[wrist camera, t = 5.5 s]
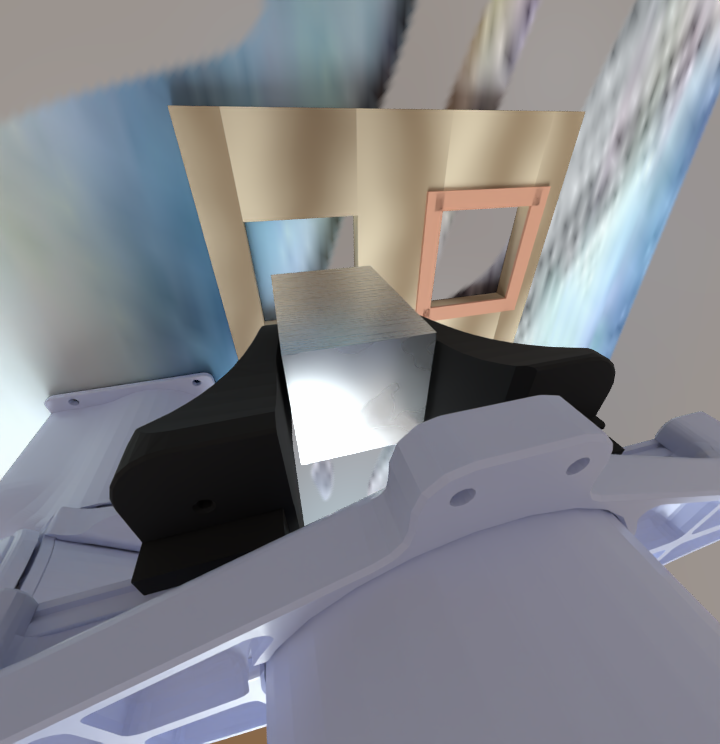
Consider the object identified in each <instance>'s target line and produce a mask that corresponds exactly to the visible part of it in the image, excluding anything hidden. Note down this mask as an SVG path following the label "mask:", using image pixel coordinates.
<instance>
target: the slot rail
mask: <svg viewBox="0 0 720 744" xmlns="http://www.w3.org/2000/svg"><path fill="white" fill-rule="evenodd" d="M168 109H169V112H170V116H171V119H172V123H173V127H174V130H175V134H176V137H177V141H178V145H179V148H180V152H181V155H182V159H183V162H184V166H185V170H186V173H187V177H188V180H189V184H190V188H191V191H192V195H193V198H194V202H195V205H196V209H197V213H198V216H199V220H200V223H201V227H202V231H203V234H204V238H205V241H206V245H207V248H208V252H209V256H210V259H211V263H212V266H213V270H214V274H215V277H216V281H217V284H218V288H219V291H220V295H221V299H222V302H223V306H224V309H225V313H226V317H227V320H228V324H229V327H230V331H231V334H232V338H233V342H234V345H235V349H236V352H237V356H238V360H239V359H240V358H241V357H242V356H243V355H244V353H245V352H246V350H247V349H248V347H249V346H250V344H251V343H252V341H253V340H254V338H255V337H256V335H257V333H258V331H259V329H260V328H261V327H262V326H265V325H273V324H277V320H271V321H264V316H263V311H262V306H261V301H260V296H259V291H258V286H257V281H256V277H255V272H254V267H253V262H252V257H251V252H250V247H249V242H248V237H247V233H246V228H245V223H244V222H256V221H273V220H290V219H307V218H324V217H340V216H353V227H354V267H361V266H371V267H372V268H373V269H374V270H375V271H376V272H377V273H378V274H379V275H380V276H381V277H382V278H383V279H384V280H385V281H386V282H387V283H388V284H389V285H390V286H391V287H392V288H393V289H394V290H395V291H396V292H397V293H398V294H399V295H400V296H401V297H402V298H403V299H404V300H405V301H406V302H407V303H408V304H409V305H410V306H411V307H412V308H413V309H414V310H415V311H416V312H417V313H418V314H419V315H421V316H423V317H426V318H428V319H430V320H433V321H435V322H438V323H441V324H443V325H446V326H448V327H451V328H454V329H457V330H460V331H463V332H466V333H470V334H474V335H477V336H481V337H485V338H490V339H494V340H499V341H505V342H511V343H513V341H514V338H515V334H516V331H517V328H518V325H519V322H520V319H521V315H522V312H523V309H524V306H525V303H526V299H527V296H528V293H529V290H530V287H531V283H532V280H533V277H534V274H535V271H536V267H537V264H538V261H539V258H540V255H541V252H542V248H543V245H544V242H545V239H546V236H547V232H548V229H549V226H550V223H551V220H552V216H553V213H554V210H555V207H556V204H557V200H558V197H559V194H560V191H561V188H562V185H563V181H564V178H565V175H566V172H567V169H568V165H569V162H570V159H571V156H572V153H573V149H574V146H575V143H576V140H577V137H578V134H579V130H580V127H581V124H582V121H583V118H584V114H585V112H571V111H569V112H568V111H566V112H565V111H504V110H503V111H502V110H433V109H431V110H430V109H366V108H297V107H228V106H168ZM504 207H518V208H517V212H516V216H515V220H514V224H513V228H512V232H511V236H510V240H509V244H508V248H507V252H506V256H505V260H504V264H503V268H502V272H501V276H500V280H499V284H498V288H497V292H496V293H489V294H481V295H473V296H465V297H457V298H449V299H441V300H433V301H431V299H432V291H433V283H434V275H435V268H436V260H437V252H438V244H439V236H440V229H441V221H442V213H443V211H453V210H469V209H487V208H504Z"/></svg>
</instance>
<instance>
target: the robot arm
mask: <svg viewBox="0 0 720 744" xmlns="http://www.w3.org/2000/svg"><path fill="white" fill-rule="evenodd" d="M420 316H421V315H420ZM421 317H422V318H423V319H424V320H425V321H426V322H427V323H428V324H429V325H430V326H431V327H432V328H433V329H434V330H435V331H436V332H437V335H436V341H435V348H434V355H433V362H432V368H431V375H430V382H429V389H428V395H427V402H426V409H425V416H424V422H423V423H420V424H418V425H416V426H415V427H414V428H413V429H412V430H411V431H409V432H408V433H407V434H406V435H405V436H404V437H403V438H402V439H400V440H399V442H398V443H397V445H396V447H395V450H394V452H393V455H392V457H391V459H390V462H389V475H388V482H387V486H386V487H385V488H384V489H382V490H380V491H378V492H376V493H373V494H371V495H369V496H367V497H365V498H363V499H361V500H359V501H357V502H355V503H353V504H351V505H348V506H346V507H344V508H342V509H340V510H338V511H336V512H334V513H331V514H330V515H327V516H325V517H323V518H321V519H319V520H317V521H315V522H312V523H310V524H308V525H306V526H304V521H303V514H302V507H301V500H300V494H299V487H298V480H297V473H296V465H295V459H294V452H293V441H292V413H291V405H290V400H289V394H288V389H287V383H286V378H285V372H284V367H283V361H282V356H281V348H280V341H279V333H278V325H277V324H273V325H265V326H262V327H261V328H260V329H259V331H258V333H257V335H256V337H255V338H254V340H253V341H252V343H251V344H250V346H249V347H248V349H247V350H246V352H245V353H244V355H243V356H242V357H241V358H240V359H239V361H238V362H237V363H236V364H235V366H234V367H233V368H232V369H231V370H230V371H229V372H228V373H227V374H225V375H224V376H223V377H222V378H221V379H220V380H219V381H218V382H216V383H215V381H214V378H213V376H212V375H211V374H209V373H198V374H191V375H185V376H178V377H171V378H165V379H158V380H151V381H145V382H138V383H132V384H125V385H118V386H112V387H105V388H98V389H92V390H85V391H78V392H72V393H65V394H59V395H52V396H49V397H48V398H47V399H46V401H45V403H44V404H45V406H46V408H47V409H48V410H49V411H50V413H51V415H50V416H49V418H48V419H47V420H46V422H45V423H44V424H43V425H42V427H41V428H40V429H39V431H38V432H37V433H36V435H35V436H34V437H33V439H32V440H31V441H30V442H29V444H28V445H27V446H26V448H25V449H24V450H23V452H22V453H21V454H20V456H19V457H18V458H17V459H16V461H15V462H14V463H13V465H12V466H11V467H10V469H9V470H8V471H7V473H6V474H5V475H4V476H3V478H2V479H1V480H0V744H210V743H213V742H216V741H220V740H223V739H226V738H229V737H232V736H236V735H239V734H242V733H245V732H248V731H252V730H255V729H259V728H262V727H265V726H267V744H720V623H719V622H718V621H717V620H716V619H715V618H714V617H713V616H712V615H711V614H710V613H709V612H708V611H707V610H706V609H705V608H704V607H703V606H702V605H701V604H700V603H699V602H698V601H697V599H695V598H694V596H693V595H692V594H691V593H690V592H689V591H688V590H687V589H686V588H685V587H684V586H683V585H682V584H681V583H680V582H679V581H678V580H677V579H676V578H675V577H674V576H673V575H672V574H671V573H670V572H669V571H668V570H667V569H666V568H665V567H664V566H663V565H665V564H667V563H669V562H672V561H674V560H676V559H678V558H680V557H683V556H685V555H687V554H689V553H691V552H693V551H696V550H698V549H700V548H703V547H705V546H707V545H710V544H712V543H714V542H717V541H719V540H720V421H718V420H716V419H715V418H713V417H711V416H710V415H708V414H706V413H704V412H695V413H691V414H687V415H684V416H679V417H675V418H673V419H671V420H669V421H668V422H666V423H665V424H664V425H663V426H662V427H661V428H660V430H659V431H658V432H657V434H656V435H655V439H652V440H649V441H645V442H641V443H637V444H633V445H630V446H626V447H621V446H620V445H619V444H617V443H616V442H615V441H614V440H612V439H611V438H610V437H608V435H607V434H606V433H605V432H603V431H602V430H601V429H604V427H605V423H604V422H603V421H602V420H600V419H599V418H598V417H597V416H596V414H597V412H598V410H599V409H600V407H601V405H602V404H603V402H604V400H605V398H606V397H607V395H608V393H609V391H610V389H611V387H612V385H613V383H614V377H615V369H614V364H613V363H612V362H611V361H610V360H609V359H608V358H606V357H604V356H603V355H601V354H599V353H598V352H596V351H594V350H592V349H589V348H565V347H545V346H534V345H525V344H517V343H511V342H505V341H499V340H494V339H490V338H485V337H481V336H477V335H474V334H470V333H466V332H463V331H460V330H457V329H454V328H451V327H448V326H446V325H443V324H441V323H438V322H435V321H433V320H430V319H428V318H426V317H423V316H421ZM194 380H199V381H200V382H199V383H196V382H194ZM72 399H76V400H78V401H79V402H78V401H74V400H72Z"/></svg>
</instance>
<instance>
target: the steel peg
mask: <svg viewBox="0 0 720 744" xmlns="http://www.w3.org/2000/svg"><path fill="white" fill-rule="evenodd" d="M271 279H272V287H273V295H274V302H275V310H276V318H277V325H278V333H279V341H280V348H281V356H282V361H283V367H284V372H285V378H286V383H287V389H288V394H289V400H290V405H291V411H292V416H293V421H294V427H295V432H296V438H297V443H298V449H299V454H300V460H301V464H302V465H303V464H308V463H312V462H317V461H321V460H326V459H330V458H335V457H339V456H344V455H348V454H353V453H357V452H362V451H366V450H371V449H375V448H380V447H384V446H389V445H394V444H397V443H398V442H399V440H400V439H402V438H403V437H404V436H405V435H406V434H407V433H408V432H409V431H411V430H412V429H413V428H414V427H415V426H416V425H418V424H420V423H423V422H424V416H425V409H426V402H427V395H428V389H429V382H430V375H431V368H432V362H433V355H434V348H435V341H436V335H437V332H436V331H435V330H434V329H433V328H432V327H431V326H430V325H429V324H428V323H427V322H426V321H425V320H424V319H423V318H422V317H421V316H420V315H419V314H418V313H417V312H416V311H415V310H414V309H413V308H412V307H411V306H410V305H409V304H408V303H407V302H406V301H405V300H404V299H403V298H402V297H401V296H400V295H399V294H398V293H397V292H396V291H395V290H394V289H393V288H392V287H391V286H390V285H389V284H388V283H387V282H386V281H385V280H384V279H383V278H382V277H381V276H380V275H379V274H378V273H377V272H376V271H375V270H374V269H373V268H372V267H371V266H361V267H351V268H341V269H329V270H319V271H308V272H297V273H287V274H276V275H271Z"/></svg>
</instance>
